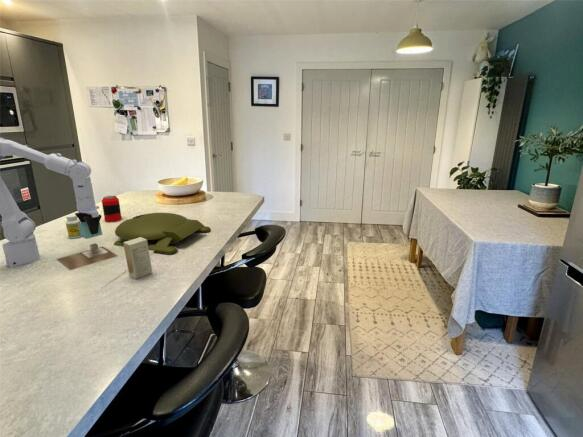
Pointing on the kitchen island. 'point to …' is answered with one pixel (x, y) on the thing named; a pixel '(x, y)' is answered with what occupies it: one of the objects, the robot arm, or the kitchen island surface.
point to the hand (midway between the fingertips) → (91, 232)
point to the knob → (87, 230)
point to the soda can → (111, 209)
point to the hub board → (86, 257)
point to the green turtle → (159, 230)
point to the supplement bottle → (72, 226)
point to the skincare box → (137, 257)
